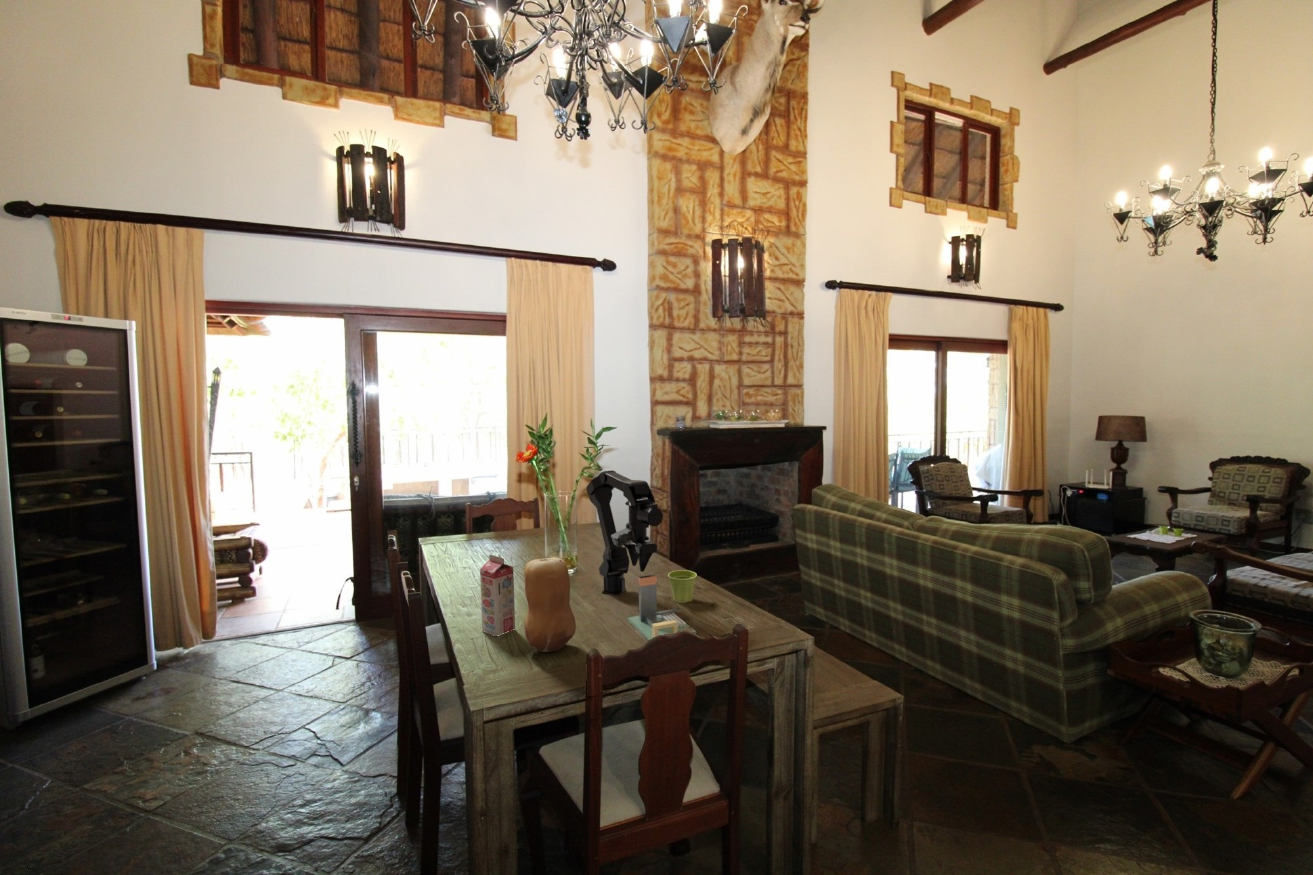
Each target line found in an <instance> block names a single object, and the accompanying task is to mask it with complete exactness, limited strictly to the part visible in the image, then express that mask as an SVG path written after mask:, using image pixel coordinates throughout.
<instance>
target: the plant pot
mask: <svg viewBox="0 0 1313 875" xmlns="http://www.w3.org/2000/svg"><path fill="white" fill-rule="evenodd" d="M667 576H668V578H669V582H670V586H671V592H672V599H673V601H674V602H676V603H679V604H687V603H688V602H689V603H690V602H692V601H693V594H694V587H695V581H696V578H697V576H698V575H697V573H696V572H695V571H692V570H687V569H685V570H683V569H680V570H673V571H670V572H669V573H668V574H667Z"/></svg>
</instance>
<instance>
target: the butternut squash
mask: <svg viewBox="0 0 1313 875" xmlns="http://www.w3.org/2000/svg"><path fill="white" fill-rule="evenodd" d="M569 574H570V573H569V568H568V566H567V563H566V562H565V561H564V559H562V558H560V557H546V558H535V559H532V560H529V561H528V562H526V564H525V566H524V572H523V576H524V592H525V593H524V594H525V598H526V601H527V606H528V609H527V614H526V616H525V620H524V634H525V635H524V636H525V638H526V641H527V642H528V644H529V646H530V647H532V648H535V649H536V650H537V651H539V652H543V653H550V652H551V651H555V652H558V651H560V650H561V649H563V648H564V646H565V645H566V644H568V642H569V641H571V639H572V638H573V637H574V636H575V633H576V628H577V622H576V618H575V615H574V613H573V610H572V608H571V604H570V600H571V598H570V597H571V595H570V594H571V579H570V575H569Z"/></svg>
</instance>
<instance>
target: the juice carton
mask: <svg viewBox="0 0 1313 875" xmlns="http://www.w3.org/2000/svg"><path fill="white" fill-rule="evenodd" d="M488 559H489V560H488V561H486V563H484V564H483V565H481V567H480V568H479V571H480V572H479V577H480V578H479V579H480V581H479V582H480V603H481V611H480V612H481V632H482V631H485V632H486V633H485V632H484V633H485V634H487V633H489V634H491V635H490V636H492V635H494V636H497V635H500V634H502V633H505V632H507V631H511V630H513V629H515V630H516V618H515V617H516V615H515V614H516V613H515V610H516V609H515V586H514V585H515V582H514V577H515V576H514V567H513V566H512V565H509V564H505V559H504V558H503V557H500V556H496V555H493V554H490V553H489V556H488ZM511 632H512V631H511ZM489 634H488V635H489ZM494 636H493V637H494Z"/></svg>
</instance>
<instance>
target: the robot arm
mask: <svg viewBox="0 0 1313 875" xmlns="http://www.w3.org/2000/svg"><path fill="white" fill-rule="evenodd" d="M614 489H617V490H619V491H620V492H622V493H623V494H622V496H623V497H625V498H626V499H627V501H626V502H625V503H624V504H625V506H628V522H627V523H626V524H625V528H624V529H621V530H618V531H617V528H616V524H615V521H614V520H615V519H614V515H613V511H612V507H611V501H612V497H613V490H614ZM585 490H586V493H587V496H588V498H589V502H591V503H592V505H594V507H595V509H596V512H597V516H598V521H599V526H600V530H601V533H602V538H603V542H604V548H605V549H604V551H603V554H602V563H601V564H600V566H599V567H598V572H599V575H600V576H602V577H603V590H602V591H601V594H606V595H615V596H619V595H621V594H622V593H623V592H625V591H626V590H627V588H626V578H625V576H624V575H625V574H628V573H629V572H628V571H629V567H630V563H631V565H632V566H633V567H635V566H636V567H637V564H638V565H639V570H640V571H639V572H641V573H643V572H644V571H645V570H646V568H647V565H648V563H649V562H650V559H651V557H652V555H653V554H654V553H655V554H656V553H658V552H659V545H657V544H656V543H655V542H653V541H652V540H650V537H649V536H648V532H647V530H648V529H649V527H650V526H651V527H658V526H659V525H660V524H661V523H662V522H663V520H664V514H663V512H662V510H661V509H660V508H658V504H657V503H656V500H655V496H654V494H653V493H652V492H653V491H652V489H651V487H650V485H649V483H648V482H647V481H646V480H641V479H637V480H636V479H631V478H629V477H626V476H624V475H622V474H620V473H618V472H617V471H616V470H603V471H602V472H599V474H598V475H597V476H595V477H594V478H593V479H591V480H590V481H589V483H587V486H586V489H585ZM630 561H631V562H630Z"/></svg>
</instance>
